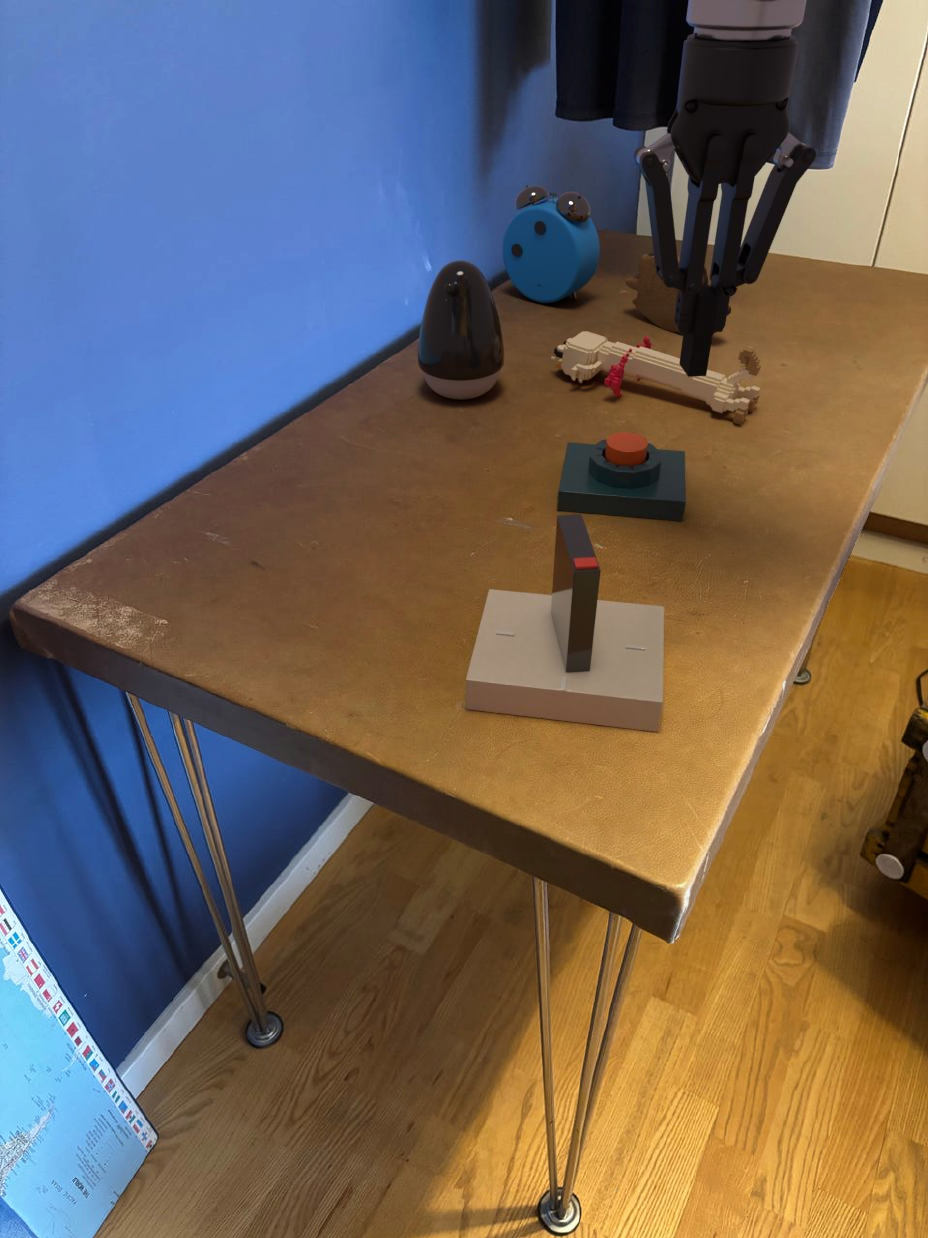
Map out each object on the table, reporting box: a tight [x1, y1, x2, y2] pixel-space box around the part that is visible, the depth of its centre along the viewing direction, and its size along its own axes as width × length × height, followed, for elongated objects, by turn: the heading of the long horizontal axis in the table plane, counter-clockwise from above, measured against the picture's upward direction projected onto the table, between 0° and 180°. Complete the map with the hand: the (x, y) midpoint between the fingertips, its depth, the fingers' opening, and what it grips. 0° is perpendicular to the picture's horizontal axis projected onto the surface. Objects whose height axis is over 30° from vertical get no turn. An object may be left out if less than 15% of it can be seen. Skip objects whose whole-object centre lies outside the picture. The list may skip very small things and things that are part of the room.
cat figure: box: [550, 330, 762, 426], centre depth 106 cm, size 10×9×25 cm
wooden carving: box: [624, 251, 732, 335], centre depth 121 cm, size 16×5×10 cm, turn 44°
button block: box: [556, 438, 687, 522], centre depth 90 cm, size 12×10×4 cm
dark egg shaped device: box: [417, 259, 505, 401], centre depth 105 cm, size 10×10×15 cm
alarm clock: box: [502, 184, 601, 304], centre depth 129 cm, size 13×6×15 cm, turn 53°
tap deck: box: [465, 588, 665, 733], centre depth 70 cm, size 14×11×3 cm
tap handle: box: [551, 513, 602, 672], centre depth 66 cm, size 7×2×9 cm, turn 5°
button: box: [605, 431, 649, 466], centre depth 89 cm, size 4×4×2 cm
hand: (692, 369), depth 75 cm, fingers closed
